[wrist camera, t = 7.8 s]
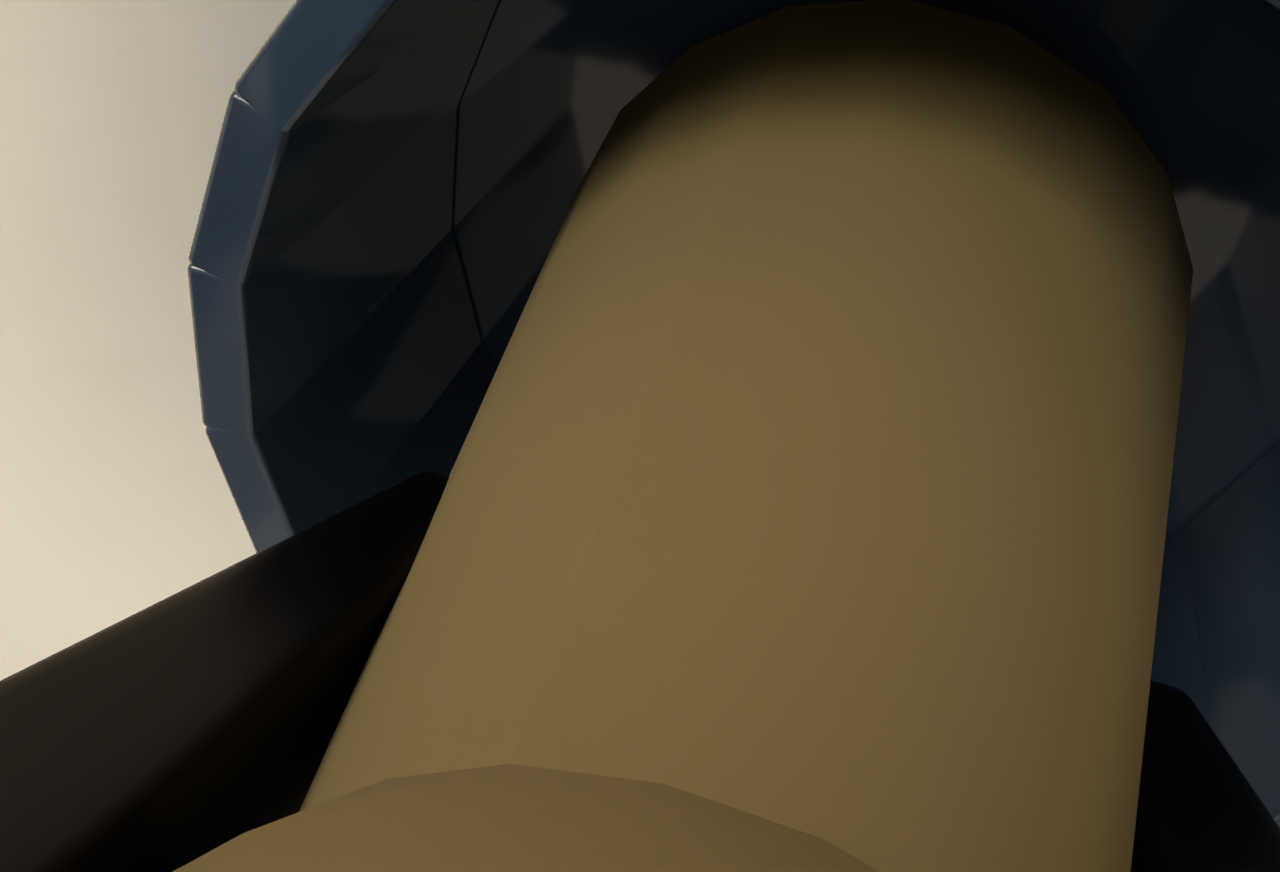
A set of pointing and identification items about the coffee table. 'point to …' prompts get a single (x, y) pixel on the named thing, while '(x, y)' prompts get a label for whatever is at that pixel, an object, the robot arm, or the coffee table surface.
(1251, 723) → the blue-grey round bowl
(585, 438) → the brown cylinder with knob
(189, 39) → the coffee table surface
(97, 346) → the coffee table surface
